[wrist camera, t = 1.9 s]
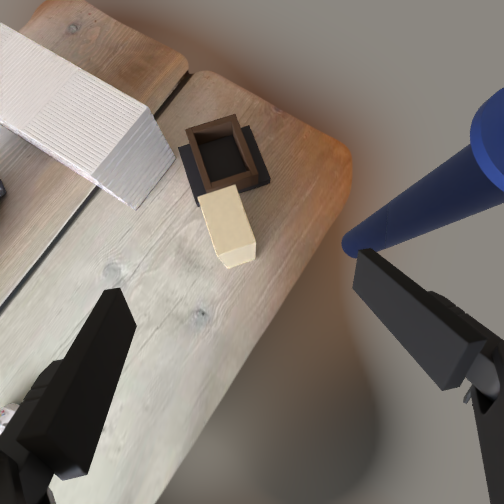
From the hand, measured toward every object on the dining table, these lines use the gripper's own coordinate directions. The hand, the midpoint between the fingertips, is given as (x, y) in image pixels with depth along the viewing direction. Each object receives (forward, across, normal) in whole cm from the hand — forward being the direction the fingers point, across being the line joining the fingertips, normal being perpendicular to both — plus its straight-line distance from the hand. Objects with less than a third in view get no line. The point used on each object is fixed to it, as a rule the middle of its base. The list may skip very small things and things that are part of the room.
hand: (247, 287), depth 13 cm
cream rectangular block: (+22, +1, -8) cm, 23 cm away
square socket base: (+30, +1, +1) cm, 30 cm away
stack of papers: (+38, -22, +7) cm, 45 cm away
